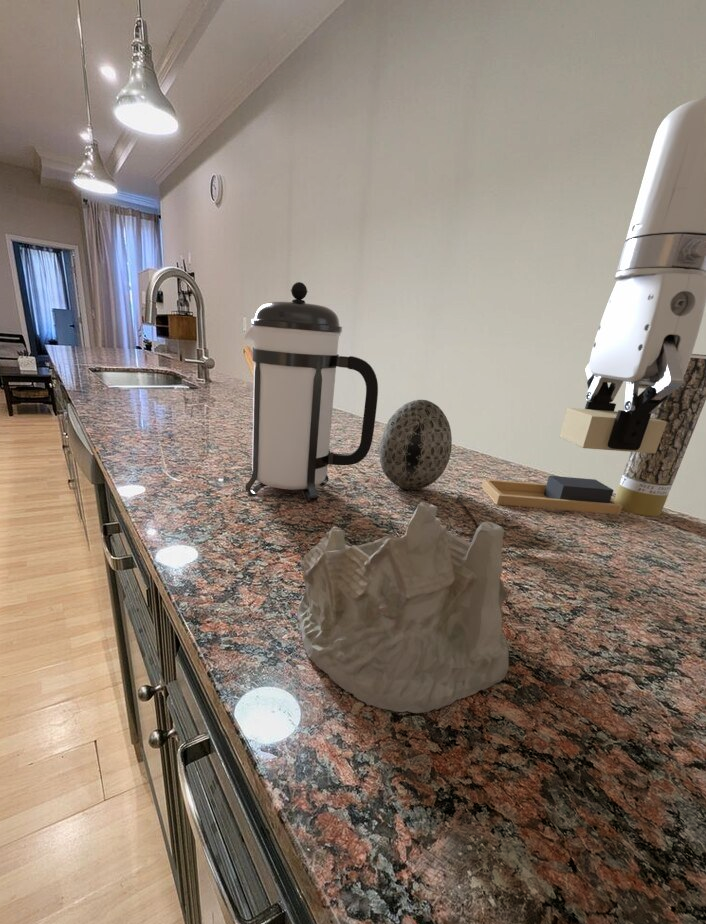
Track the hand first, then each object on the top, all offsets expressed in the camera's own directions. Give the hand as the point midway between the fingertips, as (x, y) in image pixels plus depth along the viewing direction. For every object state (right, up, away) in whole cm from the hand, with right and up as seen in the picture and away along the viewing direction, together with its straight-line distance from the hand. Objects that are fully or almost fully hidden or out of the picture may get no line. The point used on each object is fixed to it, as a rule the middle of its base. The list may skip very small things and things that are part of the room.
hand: (606, 440), depth 51 cm
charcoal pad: (+10, -7, +24) cm, 27 cm away
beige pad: (0, 0, 0) cm, 0 cm away
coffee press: (-37, -4, +22) cm, 43 cm away
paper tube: (+20, -8, +24) cm, 32 cm away
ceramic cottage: (-26, -19, -12) cm, 35 cm away
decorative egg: (-18, -4, +26) cm, 32 cm away
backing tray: (+5, -7, +24) cm, 26 cm away
